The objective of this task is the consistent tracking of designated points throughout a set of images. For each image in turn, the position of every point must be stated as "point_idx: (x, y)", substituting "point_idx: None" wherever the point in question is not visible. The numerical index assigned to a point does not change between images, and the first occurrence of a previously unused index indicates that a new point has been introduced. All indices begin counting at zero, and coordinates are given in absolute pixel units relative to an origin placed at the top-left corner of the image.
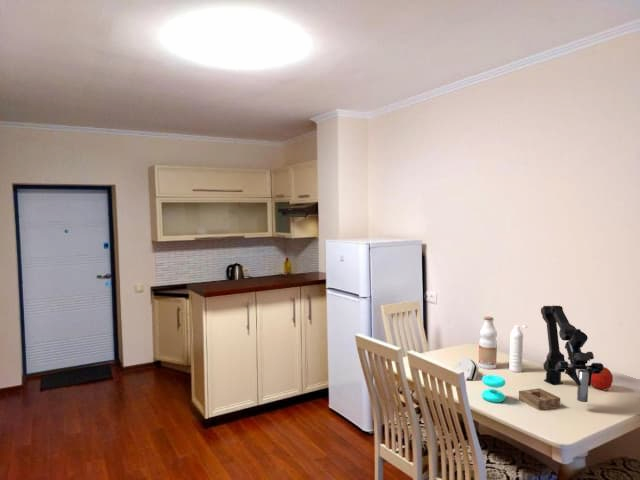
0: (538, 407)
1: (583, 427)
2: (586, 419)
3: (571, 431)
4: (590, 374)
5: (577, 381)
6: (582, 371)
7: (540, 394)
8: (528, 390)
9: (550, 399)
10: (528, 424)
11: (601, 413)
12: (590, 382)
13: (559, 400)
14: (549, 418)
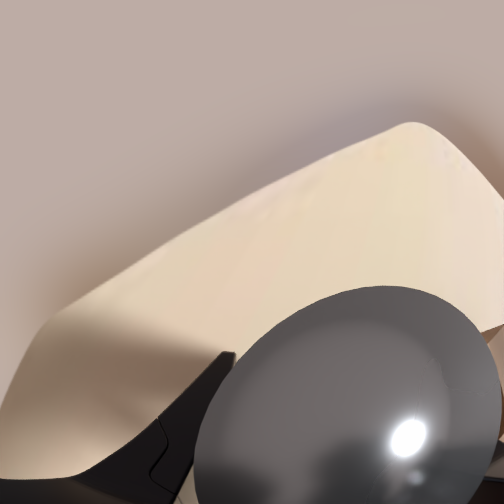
0: (484, 331)
1: (351, 185)
2: (309, 258)
3: (397, 162)
4: (133, 467)
5: None
6: (428, 433)
7: None
8: None
9: None
10: (493, 209)
11: (180, 341)
12: (210, 369)
13: None
14: (453, 255)
